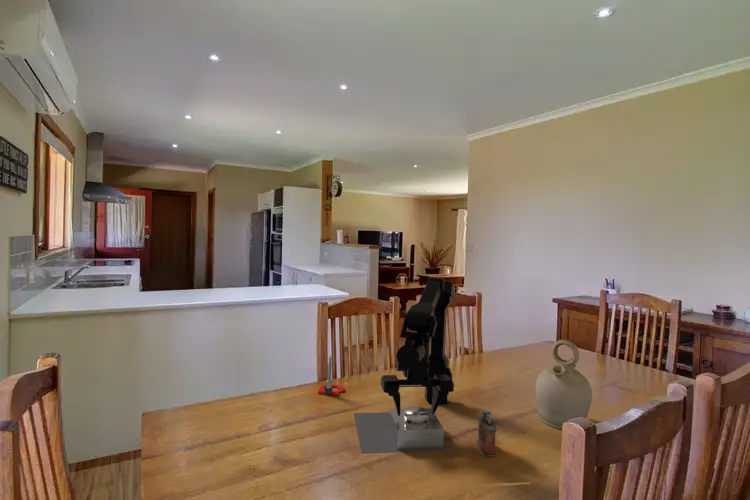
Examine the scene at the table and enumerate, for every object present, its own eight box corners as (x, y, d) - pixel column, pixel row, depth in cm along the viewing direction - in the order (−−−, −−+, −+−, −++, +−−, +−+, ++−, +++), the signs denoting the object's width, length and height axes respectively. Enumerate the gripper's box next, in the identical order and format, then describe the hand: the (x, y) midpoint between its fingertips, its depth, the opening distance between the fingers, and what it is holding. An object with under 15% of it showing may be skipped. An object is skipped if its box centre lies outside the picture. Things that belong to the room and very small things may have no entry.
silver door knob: (423, 428, 112) (424, 405, 112) (429, 440, 106) (430, 416, 106) (400, 429, 111) (401, 406, 111) (405, 441, 105) (406, 417, 105)
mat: (425, 412, 125) (425, 411, 125) (448, 451, 103) (448, 450, 103) (353, 414, 122) (353, 413, 121) (361, 454, 100) (361, 453, 100)
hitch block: (430, 425, 116) (430, 408, 115) (443, 448, 104) (444, 428, 103) (388, 426, 114) (389, 409, 114) (396, 449, 102) (397, 430, 102)
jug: (566, 438, 112) (572, 349, 111) (522, 415, 126) (527, 335, 125) (601, 428, 119) (607, 344, 118) (556, 407, 133) (561, 331, 132)
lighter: (474, 442, 108) (476, 405, 108) (486, 442, 108) (488, 405, 108) (484, 459, 100) (486, 419, 100) (498, 459, 100) (500, 419, 100)
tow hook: (323, 386, 144) (315, 395, 135) (325, 349, 144) (317, 356, 135) (346, 388, 142) (340, 398, 133) (348, 352, 142) (342, 358, 133)
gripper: (442, 348, 117) (440, 401, 118) (378, 348, 114) (376, 402, 115) (456, 360, 106) (453, 419, 107) (385, 361, 103) (383, 421, 104)
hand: (415, 414), depth 109 cm, fingers open, 9 cm apart
